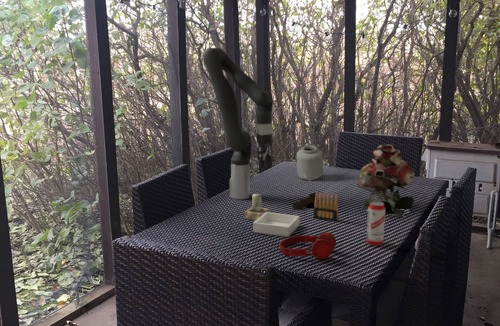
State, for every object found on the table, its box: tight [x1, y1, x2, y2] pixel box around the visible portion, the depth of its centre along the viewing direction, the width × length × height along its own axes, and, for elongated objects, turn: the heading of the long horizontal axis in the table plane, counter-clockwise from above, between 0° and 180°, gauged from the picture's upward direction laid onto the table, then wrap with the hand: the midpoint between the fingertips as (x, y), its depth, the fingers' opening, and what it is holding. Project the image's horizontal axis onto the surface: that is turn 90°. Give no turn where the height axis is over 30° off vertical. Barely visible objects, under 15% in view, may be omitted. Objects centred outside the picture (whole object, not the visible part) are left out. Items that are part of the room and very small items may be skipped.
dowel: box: [251, 193, 263, 213], centre depth 218 cm, size 4×4×10 cm
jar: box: [296, 137, 324, 181], centre depth 284 cm, size 19×15×25 cm
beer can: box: [365, 201, 386, 247], centre depth 187 cm, size 6×6×16 cm
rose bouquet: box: [356, 144, 415, 218], centre depth 231 cm, size 26×29×30 cm
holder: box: [243, 206, 270, 221], centre depth 219 cm, size 8×8×3 cm
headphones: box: [279, 231, 337, 260], centre depth 180 cm, size 15×7×20 cm
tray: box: [252, 211, 301, 238], centre depth 204 cm, size 15×15×4 cm
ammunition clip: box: [313, 191, 339, 223], centre depth 215 cm, size 11×2×12 cm, turn 63°
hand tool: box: [292, 192, 316, 211], centre depth 237 cm, size 19×4×5 cm, turn 139°
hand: (265, 165), depth 241 cm, fingers open, 8 cm apart
